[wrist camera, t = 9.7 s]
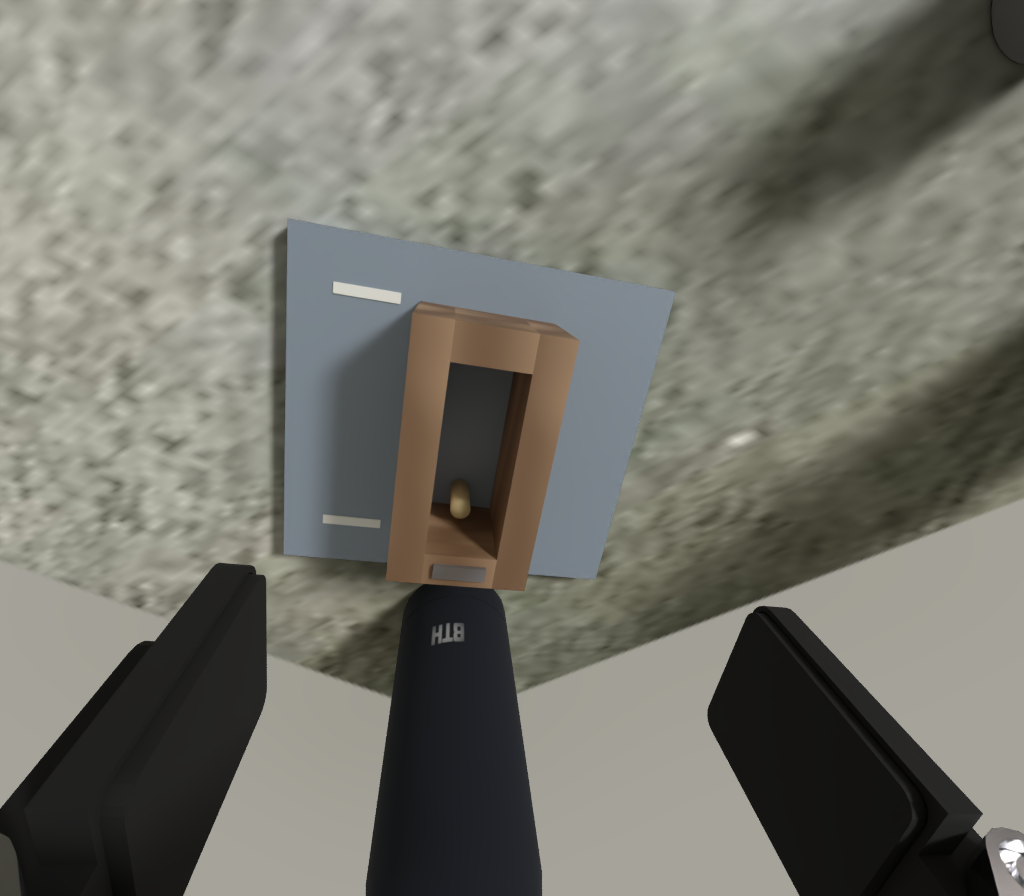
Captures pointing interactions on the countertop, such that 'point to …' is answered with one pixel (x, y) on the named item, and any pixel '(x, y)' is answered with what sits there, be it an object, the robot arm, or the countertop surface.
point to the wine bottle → (454, 758)
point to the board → (449, 391)
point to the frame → (522, 458)
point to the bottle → (1009, 27)
